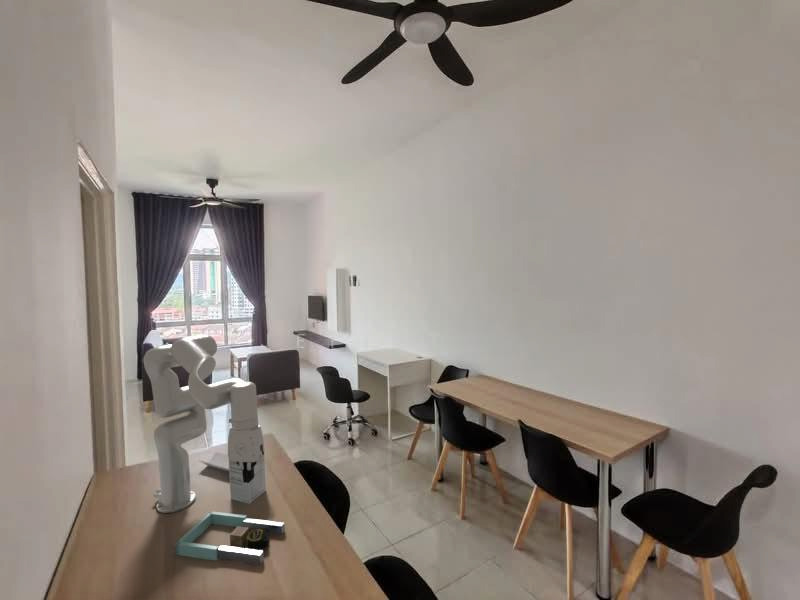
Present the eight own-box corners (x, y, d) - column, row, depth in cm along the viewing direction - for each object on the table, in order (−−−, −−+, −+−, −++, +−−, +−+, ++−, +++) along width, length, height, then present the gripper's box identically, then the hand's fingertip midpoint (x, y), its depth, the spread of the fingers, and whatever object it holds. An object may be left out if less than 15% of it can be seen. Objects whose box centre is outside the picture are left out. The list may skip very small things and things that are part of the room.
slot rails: (217, 559, 112) (217, 549, 112) (246, 526, 126) (246, 518, 126) (260, 565, 109) (259, 555, 109) (284, 531, 124) (284, 522, 123)
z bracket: (216, 470, 172) (224, 456, 176) (257, 481, 162) (264, 467, 165) (198, 461, 163) (207, 446, 167) (240, 472, 153) (248, 457, 157)
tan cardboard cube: (230, 546, 117) (229, 534, 117) (238, 538, 121) (237, 526, 121) (241, 548, 116) (241, 536, 116) (249, 539, 120) (248, 527, 120)
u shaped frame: (175, 554, 114) (174, 543, 114) (210, 520, 129) (210, 511, 129) (216, 560, 111) (215, 549, 111) (247, 525, 127) (247, 515, 127)
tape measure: (268, 551, 115) (268, 539, 115) (244, 556, 113) (244, 544, 113) (269, 536, 122) (268, 525, 121) (246, 541, 120) (246, 530, 119)
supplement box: (248, 486, 151) (246, 445, 149) (266, 490, 147) (264, 449, 146) (229, 499, 142) (227, 456, 140) (248, 504, 138) (246, 460, 137)
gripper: (215, 426, 113) (219, 485, 114) (260, 428, 110) (263, 489, 111) (231, 417, 120) (234, 472, 121) (273, 419, 117) (277, 475, 118)
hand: (248, 480), depth 116 cm, fingers closed
